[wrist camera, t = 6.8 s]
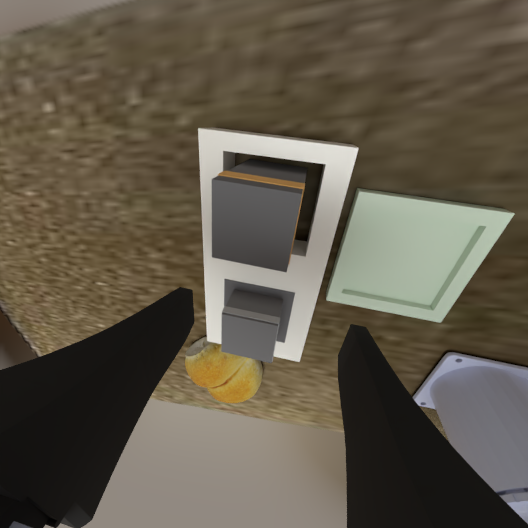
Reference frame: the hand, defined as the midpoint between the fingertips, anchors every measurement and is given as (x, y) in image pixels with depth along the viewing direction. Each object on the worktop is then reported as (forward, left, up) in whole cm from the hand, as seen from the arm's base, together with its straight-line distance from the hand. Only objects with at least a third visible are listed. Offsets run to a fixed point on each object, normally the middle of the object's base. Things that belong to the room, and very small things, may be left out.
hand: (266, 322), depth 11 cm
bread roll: (+5, +17, -10) cm, 20 cm away
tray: (-8, 0, -9) cm, 13 cm away
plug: (+2, -3, -9) cm, 10 cm away
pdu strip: (+2, +2, -9) cm, 10 cm away
